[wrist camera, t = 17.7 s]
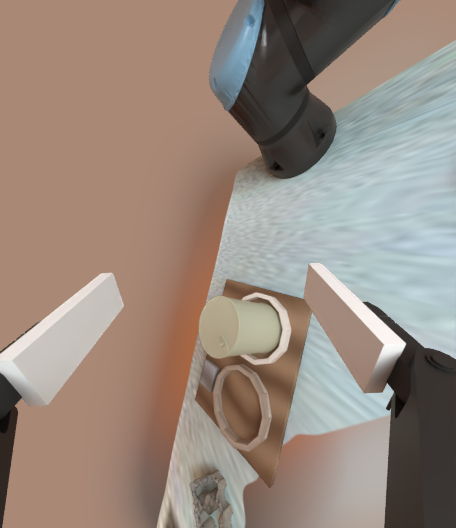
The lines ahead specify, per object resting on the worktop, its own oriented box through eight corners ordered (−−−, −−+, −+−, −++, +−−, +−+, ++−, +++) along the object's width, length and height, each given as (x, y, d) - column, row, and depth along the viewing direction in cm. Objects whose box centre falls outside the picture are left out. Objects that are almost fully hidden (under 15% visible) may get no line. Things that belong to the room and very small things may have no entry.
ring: (228, 284, 46) (224, 283, 45) (297, 303, 33) (293, 303, 32) (214, 335, 45) (210, 335, 44) (280, 377, 32) (275, 379, 31)
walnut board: (229, 279, 47) (222, 278, 46) (314, 301, 32) (307, 300, 30) (198, 398, 45) (189, 401, 43) (273, 484, 30) (264, 493, 28)
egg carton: (245, 560, 30) (227, 583, 27) (215, 555, 33) (197, 575, 31) (225, 467, 36) (209, 478, 33) (202, 471, 40) (185, 481, 37)
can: (256, 363, 35) (207, 372, 27) (235, 321, 41) (190, 318, 33) (292, 334, 32) (248, 334, 24) (263, 293, 38) (220, 282, 30)
